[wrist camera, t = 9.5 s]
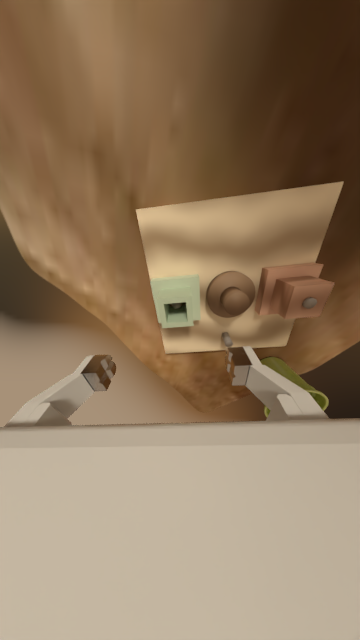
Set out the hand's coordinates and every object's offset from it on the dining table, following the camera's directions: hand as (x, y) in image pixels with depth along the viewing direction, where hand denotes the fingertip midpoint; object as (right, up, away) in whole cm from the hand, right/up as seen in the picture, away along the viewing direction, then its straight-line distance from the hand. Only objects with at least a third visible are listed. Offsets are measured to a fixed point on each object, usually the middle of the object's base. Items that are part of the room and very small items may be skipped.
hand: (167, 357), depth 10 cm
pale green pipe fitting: (0, +6, +11) cm, 13 cm away
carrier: (+8, +7, +12) cm, 16 cm away
